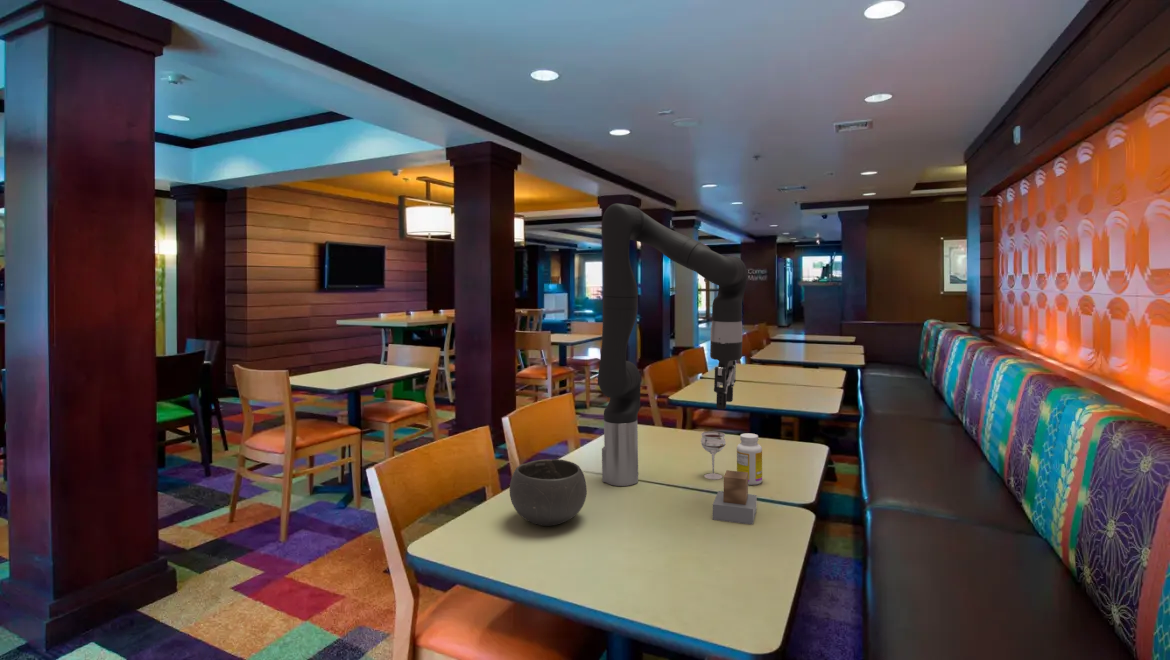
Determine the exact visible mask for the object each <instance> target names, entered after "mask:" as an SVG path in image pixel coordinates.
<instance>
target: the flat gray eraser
mask: <svg viewBox="0 0 1170 660" xmlns="http://www.w3.org/2000/svg"><path fill="white" fill-rule="evenodd" d="M723 496H724V490H723V491H720V490H718V491H717V493H716V496H715V497H714V499H713V503H712V520H714V521H721V522H728V523H729V522H730V523H739V524H744V525H751V526H752V525H754V521H755V518H756V514H757V510H758V509H757V503H758V502H757V500H758V499H757V497H758V495H757V494H749V493H748V498H747V502H746V505H743V504H735V503H727V502H723Z"/></svg>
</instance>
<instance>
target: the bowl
mask: <svg viewBox="0 0 1170 660" xmlns="http://www.w3.org/2000/svg"><path fill="white" fill-rule="evenodd" d="M509 483H510V484H509V497H510V501H511V505H512V506H513V508H514V510H515V511H516V512H517V514H518V515H520V516H521V518H523V519H524V520H526V521H528V522H529V523H532V524H535V525H538V526H546V527H547V526H548V527H549V526H556V525H560V524H563V523H565V522H567V521H569V520H571V519H572V518H574V517H576V515H578V513H579V512H580V511H581V510H582V508H583V506H584V505H585V502H586V498H587V494H588V493H587V491H588V490H587V489H588V488H587V483H586V477H585V475H584V472H583V470H582V468H581V467H580V466H579V465H578V464H576V463H575V462H573V461H568V460H566V459H559V458H558V459H557V458H554V459H553V458H551V459H549V458H548V459H538V460H537V459H536V460H533V461H528V462H526V463H520V464H519V465H518V466H517V467H516V468H515V469H514V472H513V473H512V477H511V479H510V482H509Z"/></svg>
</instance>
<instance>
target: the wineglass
mask: <svg viewBox="0 0 1170 660" xmlns="http://www.w3.org/2000/svg"><path fill="white" fill-rule="evenodd" d="M700 435H701V439H700V444H701V446H702V448H703V449H704V450H705V451H706V452H708V453H709V454H710V455H711V466H712V467H711V468H712V471H711V472H710V473H706V474H704V478H706V479H709V480H719V479H722V478H723V475H722V474H719V473H715V458H716V457H715V456H716V455H717V453H720V452H722V450H723V449H724V448H725V446H726V444H727V443H726V438H725V436H726V434H725V433H724V432H721V431H716V430H715V431H711V430H710V431H709V430H708V431H703V432H701V433H700Z"/></svg>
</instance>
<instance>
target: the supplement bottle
mask: <svg viewBox="0 0 1170 660" xmlns="http://www.w3.org/2000/svg"><path fill="white" fill-rule="evenodd" d="M739 439H740V443H738V444H737V446H736V471H739V472H748V486H755V485H760V484H761V483H762V482H763V448H762V446H761V445H760V444H759V443H758V442H759V435H758V434H755V433H748V432H747V433H740V435H739Z"/></svg>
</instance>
